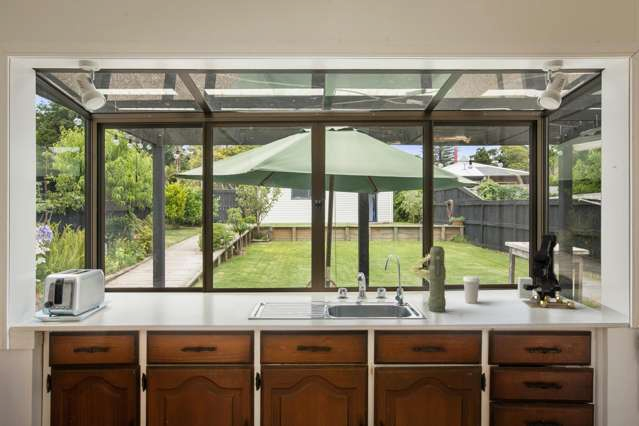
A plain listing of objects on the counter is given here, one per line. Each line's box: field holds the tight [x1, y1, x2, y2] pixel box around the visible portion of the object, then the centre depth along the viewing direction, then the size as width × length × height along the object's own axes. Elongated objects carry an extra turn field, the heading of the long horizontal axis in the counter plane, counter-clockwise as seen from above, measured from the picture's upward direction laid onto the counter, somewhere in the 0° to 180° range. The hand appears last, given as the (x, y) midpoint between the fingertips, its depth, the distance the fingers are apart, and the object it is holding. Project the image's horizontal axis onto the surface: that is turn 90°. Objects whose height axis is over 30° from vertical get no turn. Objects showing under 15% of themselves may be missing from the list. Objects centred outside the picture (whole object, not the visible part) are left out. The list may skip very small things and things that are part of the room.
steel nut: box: [529, 297, 540, 305], centre depth 231 cm, size 5×5×3 cm
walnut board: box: [522, 300, 579, 310], centre depth 230 cm, size 17×24×1 cm
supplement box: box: [517, 276, 534, 299], centre depth 250 cm, size 7×7×13 cm
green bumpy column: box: [428, 245, 447, 313], centre depth 220 cm, size 9×12×35 cm
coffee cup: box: [462, 275, 481, 305], centre depth 238 cm, size 10×10×15 cm
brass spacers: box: [533, 294, 575, 310], centre depth 230 cm, size 16×17×4 cm
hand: (541, 302), depth 231 cm, fingers closed
